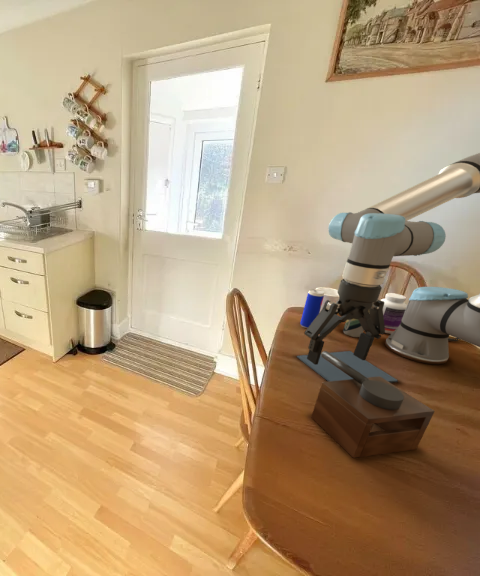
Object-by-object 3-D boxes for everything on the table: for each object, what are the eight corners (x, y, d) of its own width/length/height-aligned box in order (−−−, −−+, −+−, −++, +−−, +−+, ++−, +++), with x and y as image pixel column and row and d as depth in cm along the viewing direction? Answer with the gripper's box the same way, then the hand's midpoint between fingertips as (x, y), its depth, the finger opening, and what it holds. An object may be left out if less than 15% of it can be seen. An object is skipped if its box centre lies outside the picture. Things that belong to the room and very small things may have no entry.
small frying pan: (332, 356, 85) (335, 348, 84) (409, 408, 67) (413, 398, 66) (309, 359, 84) (311, 350, 84) (380, 411, 66) (384, 401, 65)
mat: (349, 352, 107) (350, 350, 107) (397, 381, 92) (398, 380, 92) (296, 357, 104) (296, 355, 104) (337, 388, 90) (337, 386, 89)
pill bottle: (403, 333, 119) (416, 298, 114) (388, 336, 117) (401, 301, 111) (379, 323, 126) (391, 290, 121) (365, 326, 124) (376, 293, 119)
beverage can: (317, 329, 122) (327, 294, 116) (302, 328, 123) (312, 293, 117) (311, 323, 126) (321, 289, 121) (297, 322, 127) (306, 288, 122)
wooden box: (366, 411, 81) (379, 376, 77) (416, 449, 70) (435, 411, 66) (311, 417, 79) (322, 382, 75) (353, 458, 68) (368, 419, 64)
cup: (302, 314, 134) (309, 287, 130) (326, 314, 134) (334, 287, 129) (317, 325, 125) (325, 296, 120) (342, 325, 125) (351, 296, 120)
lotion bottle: (338, 330, 121) (353, 282, 114) (352, 329, 121) (367, 281, 114) (351, 338, 116) (368, 288, 108) (365, 337, 116) (382, 287, 109)
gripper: (326, 290, 67) (303, 372, 75) (425, 285, 71) (392, 364, 78) (300, 278, 74) (281, 354, 82) (391, 274, 77) (365, 348, 85)
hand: (335, 359), depth 80 cm, fingers open, 13 cm apart
